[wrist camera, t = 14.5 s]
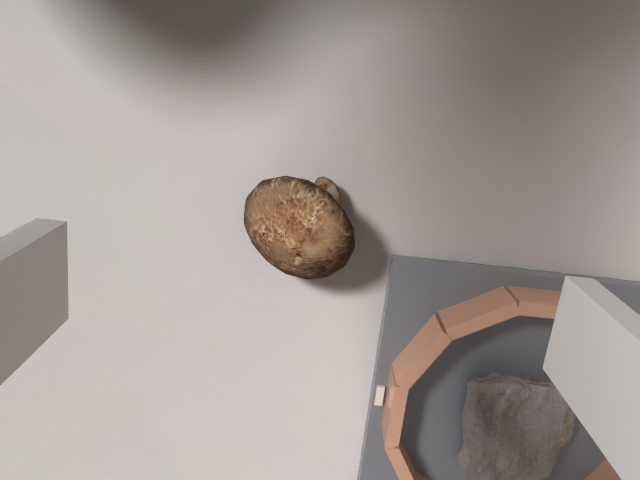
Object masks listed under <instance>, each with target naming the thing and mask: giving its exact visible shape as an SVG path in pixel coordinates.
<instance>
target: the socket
mask: <svg viewBox="0 0 640 480" xmlns="http://www.w3.org/2000/svg"><path fill="white" fill-rule="evenodd" d="M565 275H566V276H575V277H584V278H593V279H595V280H596V281H598V282H599V283H600V284H601V285H603V286H604V287H605V288H606V289H608V290H609V291H610V292H611V293H613V294H614V295H615V296H616V297H618V298H619V299H620V300H621V301H623V302H624V303H625V304H626V305H627V306H629V307H630V308H631V309H632V310H634V311H635V312H636V313H637V314H639V315H640V282H638V281H629V280H620V279H611V278H601V277H592V276H583V275H574V274H564V273H555V272H546V271H537V270H528V269H518V268H509V267H500V266H491V265H482V264H472V263H463V262H454V261H445V260H436V259H426V258H417V257H408V256H399V255H392V257H391V264H390V270H389V277H388V283H387V290H386V296H385V303H384V309H383V316H382V322H381V329H380V335H379V342H378V348H377V355H376V361H375V368H374V374H373V381H372V387H371V394H370V401H369V407H368V414H367V420H366V427H365V433H364V440H363V446H362V453H361V459H360V466H359V472H358V479H357V480H469V475H468V473H467V472H466V471H464V470H462V469H461V468H460V467H459V466H458V463H457V460H456V456H457V454H458V452H459V451H460V450H461V448H462V446H463V442H464V439H463V434H462V424H463V422H462V415H461V413H462V412H463V407H464V403H465V400H466V395H467V386H466V383H467V381H468V380H471V379H473V378H483V377H486V376H488V375H489V374H491V373H493V372H497V373H500V374H509V375H513V374H515V375H523V376H530V377H533V378H536V379H540V378H546V379H549V377H548V375H547V374H546V372H545V371H544V370H543V364H544V360H545V356H546V352H547V348H548V344H549V340H550V336H551V332H552V328H553V324H554V319H555V315H556V311H557V307H558V303H559V299H560V295H561V291H562V287H563V283H564V279H565ZM572 428H573V434H572V436H571V439H570V441H569V442H568V443H567V444H566V445H565V446H563V448H562V449H561V451H560V453H559V457H558V461H557V462H556V464H555V465H554V466H553V468H552V470H551V474H550V476H548V477H547V478H543V479H539V480H621V478H620V477H619V475H618V474H617V473H616V471H615V470H614V468H613V467H612V466H611V464H610V463H609V461H608V460H607V459H606V457H605V456H604V454H603V453H602V451H601V450H600V449H599V447H598V446H597V444H596V443H595V442H594V440H593V439H592V437H591V436H590V435H589V433H588V432H587V430H586V429H585V427H584V426H583V425H582V423H581V422H580V420H579V419H578V418H577V416H576V417H575V425H574V426H573V427H572Z"/></svg>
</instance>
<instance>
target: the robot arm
mask: <svg viewBox="0 0 640 480" xmlns="http://www.w3.org/2000/svg"><path fill="white" fill-rule="evenodd" d="M67 319H68V259H67V221H59V220H50V219H41V218H37V219H35V220H33V221H31V222H29V223H27V224H25V225H23V226H21V227H20V228H18V229H16V230H14V231H12V232H10V233H8V234H6V235H5V236H3V237H1V238H0V385H1V384H2V383H3V382H4V381H5V380H6V379H7V378H8V377H9V376H10V375H11V374H12V373H13V372H14V371H15V370H16V369H17V368H18V367H19V366H20V365H21V364H22V363H24V362H25V361H26V360H27V359H28V358H29V357H30V356H31V355H32V354H33V353H34V352H35V351H36V350H37V349H38V348H39V347H40V346H41V345H42V344H43V343H44V342H45V341H46V340H47V339H48V338H49V337H50V336H51V335H52V334H53V333H54V332H55V331H56V330H57V329H58V328H59V327H60V326H61V325H62V324H63V323H64V322H65V321H66V320H67ZM543 370H544V371H545V372H546V374H547V375H548V377H549V378H550V380H551V381H552V382H553V384H554V385H555V387H556V388H557V389H558V391H559V392H560V394H561V395H562V396H563V398H564V399H565V401H566V402H567V403H568V405H569V406H570V408H571V409H572V411H573V412H574V413H575V415H576V416H577V418H578V419H579V420H580V422H581V423H582V425H583V426H584V427H585V429H586V430H587V432H588V433H589V435H590V436H591V437H592V439H593V440H594V442H595V443H596V444H597V446H598V447H599V449H600V450H601V451H602V453H603V454H604V456H605V457H606V459H607V460H608V461H609V463H610V464H611V466H612V467H613V468H614V470H615V471H616V473H617V474H618V475H619V477H620V478H621V480H640V315H639V314H637V313H636V312H635V311H634V310H632V309H631V308H630V307H629V306H627V305H626V304H625V303H624V302H623V301H621V300H620V299H619V298H618V297H616V296H615V295H614V294H613V293H611V292H610V291H609V290H608V289H606V288H605V287H604V286H603V285H601V284H600V283H599V282H598V281H596V280H595V279H593V278H584V277H575V276H566V275H565V279H564V283H563V287H562V291H561V295H560V299H559V303H558V307H557V311H556V315H555V319H554V324H553V328H552V332H551V336H550V340H549V344H548V348H547V352H546V356H545V360H544V364H543Z"/></svg>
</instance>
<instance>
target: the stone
mask: <svg viewBox="0 0 640 480" xmlns="http://www.w3.org/2000/svg"><path fill="white" fill-rule="evenodd" d="M466 386H467V395H466V400H465V403H464V407H463V412H462V413H461V415H462V422H463V424H462V434H463V439H464V442H463V446H462V448H461V450H460V451H459V452H458V454H457V456H456V460H457V463H458V466H459V467H460V468H461V469H462V470H464V471H466V472H467V473H468V475H469V480H539V479H543V478H547V477H548V476H550V474H551V470H552V468H553V466H554V465H555V464H556V462H557V461H558V457H559V453H560V451H561V449H562V448H563V446H565V445H566V444H567V443H568V442H569V441H570V439H571V436H572V434H573V428H572V427H573V426H574V425H575V417H576V415H575V413H574V412H573V411H572V409H571V408H570V406H569V405H568V403H567V402H566V401H565V399H564V398H563V396H562V395H561V394H560V392H559V391H558V389H557V388H556V387H555V385H554V384H553V382H552V381H551V380H550V378H549V379H546V378H540V379H536V378H533V377H530V376H523V375H515V374H513V375H509V374H500V373H497V372H493V373H491V374H489V375H488V376H486V377H483V378H473V379H471V380H468V381H467V383H466Z"/></svg>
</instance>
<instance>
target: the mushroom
mask: <svg viewBox="0 0 640 480" xmlns="http://www.w3.org/2000/svg"><path fill="white" fill-rule="evenodd" d="M244 225H245V228H246V230H247V233H248V235H249V237H250V239H251V242H252V244H253V245H254V246H255V248H256V249H257V250H258V251H259V252H260V254H261V255H262V256H263V257H264V258H265V259H266V260H267V261H268V262H269V263H270V264H272V265H273V266H274V267H276V268H277V269H279V270H280V271H282V272H284V273H285V274H288V275H292V276H296V277H300V278H304V279H313V278H322V277H327V276H329V275H331V274H333V273H334V272H336V271H338V270H339V269H341V268H343V267H344V266H345V265H346V263H347V262H348V260H349V258H350V256H351V254H352V253H353V250H354V248H355V240H354V228H353V226H352V224H351V222H350V221H349V219H348V217H347V215H346V213H345V211H344V210H343V209H342V207H341V199H340V194H339V191H338V189H337V187H336V184H335V183H334V182H332V181H331V180H330V179H328V178H326V177H320V178H317V180H316V181H315V182H314V183H312V182H310V181H309V180H304V179H299V178H294V177H289V176H282V177H277V178H272V179H267V180H263V181H262V182H260V183H259V184H258V185H257V186H256V187H255V188H254V190H253V191H252V192H251V193H250V194H249V196H248V197H247V199H246V203H245V211H244Z"/></svg>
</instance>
